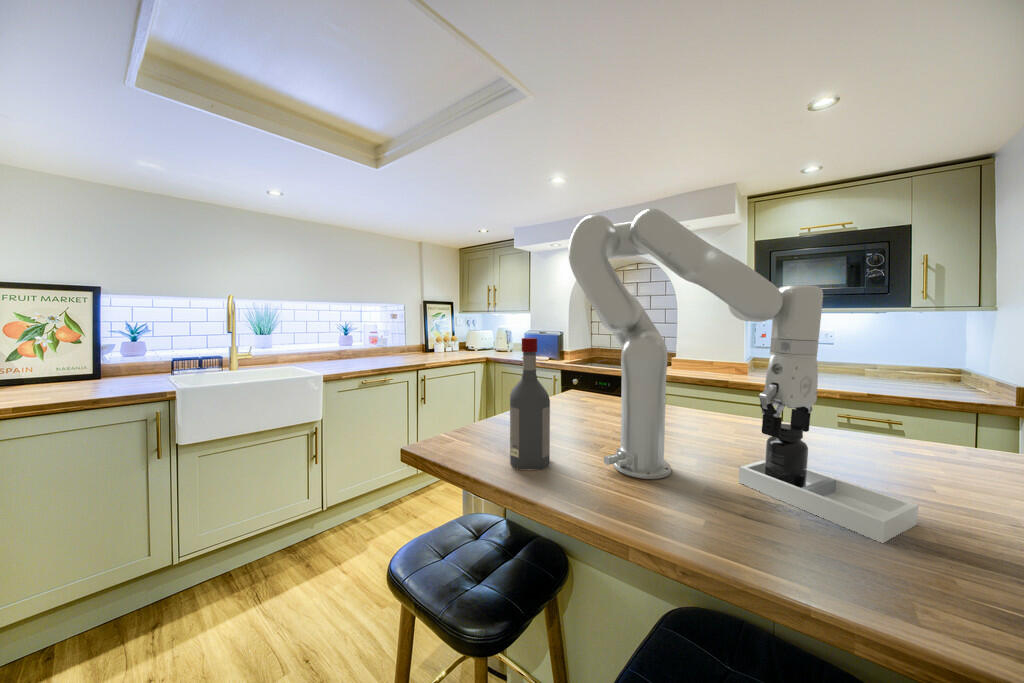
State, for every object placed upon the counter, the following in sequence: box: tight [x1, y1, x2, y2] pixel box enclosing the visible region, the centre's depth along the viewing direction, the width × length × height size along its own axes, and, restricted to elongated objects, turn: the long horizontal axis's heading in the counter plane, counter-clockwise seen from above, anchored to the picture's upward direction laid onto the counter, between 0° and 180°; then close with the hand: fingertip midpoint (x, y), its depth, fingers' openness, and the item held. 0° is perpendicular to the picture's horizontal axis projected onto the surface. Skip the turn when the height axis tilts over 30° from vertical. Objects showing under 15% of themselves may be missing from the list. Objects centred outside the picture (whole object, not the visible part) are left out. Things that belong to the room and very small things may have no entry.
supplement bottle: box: [764, 423, 809, 488], centre depth 75 cm, size 7×7×12 cm
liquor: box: [509, 337, 551, 470], centre depth 88 cm, size 9×9×30 cm
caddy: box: [738, 459, 919, 544], centre depth 71 cm, size 12×23×4 cm, turn 25°
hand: (785, 432), depth 75 cm, fingers open, 9 cm apart
